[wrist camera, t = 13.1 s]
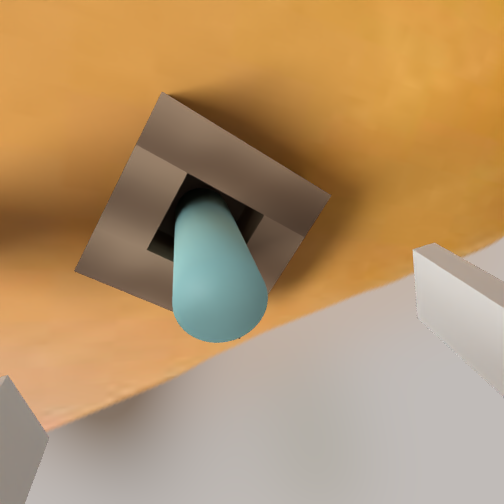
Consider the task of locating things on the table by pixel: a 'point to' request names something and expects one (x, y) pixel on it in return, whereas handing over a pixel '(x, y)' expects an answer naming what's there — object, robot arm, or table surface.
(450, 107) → the table surface
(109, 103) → the table surface
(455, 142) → the table surface
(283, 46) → the table surface
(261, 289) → the dowel
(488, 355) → the robot arm
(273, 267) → the bore block
